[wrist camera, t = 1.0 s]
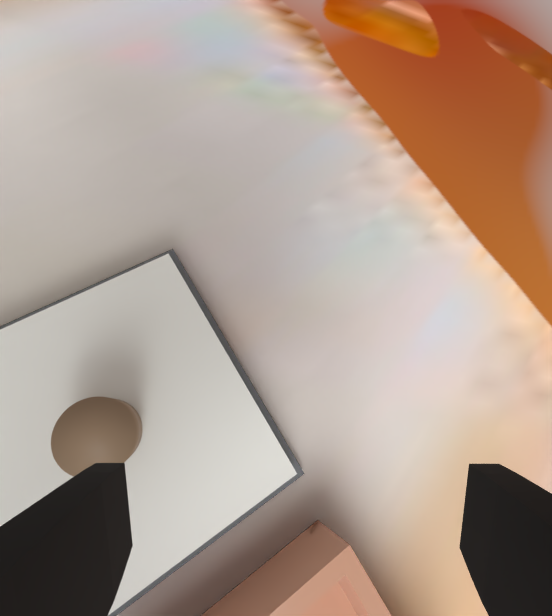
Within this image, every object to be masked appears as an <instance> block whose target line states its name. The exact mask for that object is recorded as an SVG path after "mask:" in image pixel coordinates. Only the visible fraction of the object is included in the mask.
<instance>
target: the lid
mask: <svg viewBox="0 0 552 616" xmlns="http://www.w3.org/2000/svg"><path fill="white" fill-rule="evenodd" d="M95 463H125V472H126V482H127V493H128V503H129V513H130V523H131V534H132V544H133V546H132V549H131V553H130V556H129V559H128V562H127V565H126V568H125V571H124V574H123V577H122V580H121V583H120V586H119V589H118V591H117V594H116V597H115V600H114V602H113V605H112V607H111V609H110V611H109V614H108V615H110V614H111V613H112V612H114V611H115V610H116V609H118V608H119V607H120V606H122V605H123V604H124V603H126V602H127V601H128V600H130V599H131V598H132V597H134V596H135V595H136V594H138V593H139V592H140V591H142V590H143V589H144V588H146V587H147V586H148V585H150V584H151V583H152V582H154V581H155V580H156V579H158V578H159V577H160V576H162V575H163V574H164V573H166V572H167V571H168V570H170V569H171V568H172V567H174V566H175V565H176V564H178V563H179V562H180V561H182V560H183V559H184V558H186V557H187V556H188V555H190V554H191V553H192V552H194V551H195V550H196V549H198V548H199V547H200V546H202V545H203V544H204V543H206V542H207V541H208V540H210V539H211V538H212V537H214V536H215V535H216V534H218V533H219V532H220V531H222V530H223V529H224V528H226V527H227V526H228V525H230V524H231V523H232V522H234V521H235V520H236V519H238V518H239V517H240V516H242V515H243V514H244V513H246V512H247V511H248V510H250V509H251V508H252V507H254V506H255V505H256V504H258V503H259V502H260V501H262V500H263V499H264V498H266V497H267V496H268V495H270V494H271V493H272V492H274V491H275V490H276V489H278V488H279V487H280V486H282V485H283V484H284V483H286V482H287V481H288V480H290V479H291V478H292V477H294V476H295V475H296V474H297V473H296V471H295V469H294V467H293V466H292V464H291V462H290V461H289V459H288V457H287V455H286V454H285V452H284V450H283V449H282V447H281V445H280V443H279V442H278V440H277V438H276V437H275V435H274V433H273V431H272V430H271V428H270V426H269V425H268V423H267V421H266V419H265V418H264V416H263V414H262V413H261V411H260V409H259V407H258V406H257V404H256V402H255V401H254V399H253V397H252V395H251V394H250V392H249V390H248V389H247V387H246V385H245V383H244V382H243V380H242V378H241V377H240V375H239V373H238V371H237V370H236V368H235V366H234V365H233V363H232V361H231V360H230V358H229V356H228V354H227V353H226V351H225V349H224V348H223V346H222V344H221V342H220V341H219V339H218V337H217V336H216V334H215V332H214V330H213V329H212V327H211V325H210V324H209V322H208V320H207V318H206V317H205V315H204V313H203V312H202V310H201V308H200V306H199V305H198V303H197V301H196V300H195V298H194V296H193V294H192V293H191V291H190V289H189V288H188V286H187V284H186V282H185V281H184V279H183V277H182V276H181V274H180V272H179V270H178V269H177V267H176V265H175V264H174V262H173V260H172V258H171V257H170V255H169V253H168V254H166V255H164V256H162V257H159V258H157V259H155V260H153V261H151V262H148V263H146V264H144V265H142V266H140V267H137V268H135V269H133V270H131V271H129V272H126V273H124V274H122V275H120V276H117V277H115V278H113V279H111V280H109V281H106V282H104V283H102V284H100V285H98V286H95V287H93V288H91V289H89V290H87V291H84V292H82V293H80V294H78V295H76V296H73V297H71V298H69V299H67V300H64V301H62V302H60V303H58V304H56V305H53V306H51V307H49V308H47V309H45V310H42V311H40V312H38V313H36V314H34V315H31V316H29V317H27V318H25V319H23V320H20V321H18V322H16V323H14V324H11V325H9V326H7V327H5V328H3V329H0V526H2V525H3V524H5V523H6V522H8V521H9V520H11V519H12V518H13V517H15V516H16V515H18V514H19V513H21V512H22V511H24V510H25V509H27V508H28V507H30V506H31V505H33V504H34V503H36V502H37V501H39V500H40V499H42V498H43V497H44V496H46V495H47V494H49V493H50V492H52V491H53V490H55V489H56V488H58V487H59V486H61V485H62V484H64V483H65V482H66V481H68V480H69V479H71V478H72V477H74V476H75V475H77V474H79V473H80V472H82V471H83V470H85V469H86V468H88V467H90V466H91V465H93V464H95Z"/></svg>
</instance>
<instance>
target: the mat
mask: <svg viewBox="0 0 552 616" xmlns="http://www.w3.org/2000/svg"><path fill="white" fill-rule="evenodd" d="M168 253H169V255H170V257H171V258H172V260H173V262H174V264H175V265H176V267H177V269H178V270H179V272H180V274H181V276H182V277H183V279H184V281H185V282H186V284H187V286H188V288H189V289H190V291H191V293H192V294H193V296H194V298H195V300H196V301H197V303H198V305H199V306H200V308H201V310H202V312H203V313H204V315H205V317H206V318H207V320H208V322H209V324H210V325H211V327H212V329H213V330H214V332H215V334H216V336H217V337H218V339H219V341H220V342H221V344H222V346H223V348H224V349H225V351H226V353H227V354H228V356H229V358H230V360H231V361H232V363H233V365H234V366H235V368H236V370H237V371H238V373H239V375H240V377H241V378H242V380H243V382H244V383H245V385H246V387H247V389H248V390H249V392H250V394H251V395H252V397H253V399H254V401H255V402H256V404H257V406H258V407H259V409H260V411H261V413H262V414H263V416H264V418H265V419H266V421H267V423H268V425H269V426H270V428H271V430H272V431H273V433H274V435H275V437H276V438H277V440H278V442H279V443H280V445H281V447H282V449H283V450H284V452H285V454H286V455H287V457H288V459H289V461H290V462H291V464H292V466H293V467H294V469H295V471H296V473H297V474H296V475H295V476H294V477H292V478H291V479H290V480H288V481H287V482H286V483H284V484H283V485H282V486H280V487H279V488H278V489H276V490H275V491H274V492H272V493H271V494H270V495H268V496H267V497H266V498H264V499H263V500H262V501H260V502H259V503H258V504H256V505H255V506H254V507H252V508H251V509H250V510H248V511H247V512H246V513H244V514H243V515H242V516H240V517H239V518H238V519H236V520H235V521H234V522H232V523H231V524H230V525H228V526H227V527H226V528H224V529H223V530H222V531H220V532H219V533H218V534H216V535H215V536H214V537H212V538H211V539H210V540H208V541H207V542H206V543H204V544H203V545H202V546H200V547H199V548H198V549H196V550H195V551H194V552H192V553H191V554H190V555H188V556H187V557H186V558H184V559H183V560H182V561H180V562H179V563H178V564H176V565H175V566H174V567H172V568H171V569H170V570H168V571H167V572H166V573H164V574H163V575H162V576H160V577H159V578H158V579H156V580H155V581H154V582H152V583H151V584H150V585H148V586H147V587H146V588H144V589H143V590H142V591H140V592H139V593H138V594H136V595H135V596H134V597H132V598H131V599H130V600H128V601H127V602H126V603H124V604H123V605H122V606H120V607H119V608H118V609H116V610H115V611H114V612H112V613H111V614H110V615H108V616H116V615H118V614H119V613H120V612H122V611H123V610H124V609H126V608H127V607H128V606H130V605H131V604H132V603H134V602H135V601H136V600H138V599H139V598H140V597H142V596H143V595H144V594H146V593H147V592H148V591H150V590H151V589H152V588H154V587H155V586H156V585H158V584H159V583H160V582H161V581H163V580H164V579H165V578H167V577H168V576H169V575H171V574H172V573H173V572H175V571H176V570H177V569H179V568H180V567H181V566H183V565H184V564H185V563H187V562H188V561H189V560H191V559H192V558H193V557H195V556H196V555H197V554H199V553H200V552H201V551H203V550H204V549H205V548H206V547H208V546H209V545H210V544H212V543H213V542H214V541H216V540H217V539H218V538H220V537H221V536H222V535H224V534H225V533H226V532H228V531H229V530H230V529H232V528H233V527H234V526H236V525H237V524H238V523H240V522H241V521H242V520H244V519H245V518H246V517H248V516H249V515H250V514H252V513H253V512H254V511H255V510H257V509H258V508H259V507H261V506H262V505H263V504H265V503H266V502H267V501H269V500H270V499H271V498H273V497H274V496H275V495H277V494H278V493H279V492H281V491H282V490H283V489H285V488H286V487H287V486H289V485H290V484H291V483H293V482H294V481H295V480H297V479H298V478H299V477H300V476H302V475H303V474H304V472H303V471H302V469H301V467H300V465H299V464H298V462H297V460H296V459H295V457H294V455H293V453H292V452H291V450H290V448H289V447H288V445H287V443H286V442H285V440H284V438H283V436H282V435H281V433H280V431H279V430H278V428H277V426H276V424H275V423H274V421H273V419H272V418H271V416H270V414H269V412H268V411H267V409H266V407H265V406H264V404H263V402H262V401H261V399H260V397H259V395H258V394H257V392H256V390H255V389H254V387H253V385H252V383H251V382H250V380H249V378H248V377H247V375H246V373H245V371H244V370H243V368H242V366H241V365H240V363H239V361H238V360H237V358H236V356H235V354H234V353H233V351H232V349H231V348H230V346H229V344H228V342H227V341H226V339H225V337H224V336H223V334H222V332H221V330H220V329H219V327H218V325H217V324H216V322H215V320H214V319H213V317H212V315H211V313H210V312H209V310H208V308H207V307H206V305H205V303H204V301H203V300H202V298H201V296H200V295H199V293H198V291H197V289H196V288H195V286H194V284H193V283H192V281H191V279H190V278H189V276H188V274H187V272H186V271H185V269H184V267H183V266H182V264H181V262H180V260H179V259H178V257H177V255H176V254H175V252H174V250H173V249H172V250H169V251H167V252H165V253H163V254H160V255H158V256H156V257H154V258H152V259H149V260H147V261H145V262H143V263H140V264H138V265H136V266H134V267H132V268H129V269H127V270H125V271H123V272H120V273H118V274H116V275H114V276H112V277H109V278H107V279H105V280H103V281H100V282H98V283H96V284H94V285H92V286H89V287H87V288H85V289H83V290H80V291H78V292H76V293H74V294H72V295H69V296H67V297H65V298H63V299H61V300H58V301H56V302H54V303H52V304H49V305H47V306H45V307H43V308H41V309H38V310H36V311H34V312H32V313H29V314H27V315H25V316H23V317H21V318H18V319H16V320H14V321H12V322H9V323H7V324H5V325H3V326H1V327H0V329H3V328H5V327H7V326H9V325H11V324H14V323H16V322H18V321H20V320H23V319H25V318H27V317H29V316H31V315H34V314H36V313H38V312H40V311H42V310H45V309H47V308H49V307H51V306H53V305H56V304H58V303H60V302H62V301H64V300H67V299H69V298H71V297H73V296H76V295H78V294H80V293H82V292H84V291H87V290H89V289H91V288H93V287H95V286H98V285H100V284H102V283H104V282H106V281H109V280H111V279H113V278H115V277H117V276H120V275H122V274H124V273H126V272H129V271H131V270H133V269H135V268H137V267H140V266H142V265H144V264H146V263H148V262H151V261H153V260H155V259H157V258H159V257H162V256H164V255H166V254H168Z"/></svg>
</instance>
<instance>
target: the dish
mask: <svg viewBox="0 0 552 616" xmlns="http://www.w3.org/2000/svg"><path fill="white" fill-rule="evenodd" d="M201 616H391V614H390V612H389V611H388V609H387V607H386V606H385V604H384V602H383V600H382V599H381V597H380V595H379V594H378V592H377V590H376V588H375V587H374V585H373V583H372V582H371V580H370V578H369V577H368V575H367V573H366V571H365V570H364V568H363V566H362V565H361V563H360V561H359V559H358V558H357V556H356V554H355V553H354V551H353V549H352V548H351V546H350V544H348V543H347V542H346V541H344V540H343V539H342V538H341V537H339V536H338V535H337V534H335V533H334V532H333V531H332V530H330V529H329V528H328V527H326V526H325V525H324V524H323V523H321V522H320V521H319V520H317V521H316V522H315V523H314V524H312V525H311V526H310V527H309V528H308V529H306V530H305V531H304V532H303V533H301V534H300V535H299V536H298V537H297V538H295V539H294V540H293V541H292V542H290V543H289V544H288V545H287V546H286V547H284V548H283V549H282V550H281V551H279V552H278V553H277V554H276V555H275V556H273V557H272V558H271V559H270V560H268V561H267V562H266V563H265V564H264V565H262V566H261V567H260V568H259V569H257V570H256V571H255V572H254V573H253V574H251V575H250V576H249V577H248V578H246V579H245V580H244V581H243V582H241V583H240V584H239V585H238V586H237V587H235V588H234V589H233V590H232V591H230V592H229V593H228V594H227V595H226V596H224V597H223V598H222V599H221V600H219V601H218V602H217V603H216V604H215V605H213V606H212V607H211V608H210V609H208V610H207V611H206V612H205V613H204V614H202V615H201Z"/></svg>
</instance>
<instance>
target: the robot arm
mask: <svg viewBox="0 0 552 616" xmlns="http://www.w3.org/2000/svg"><path fill="white" fill-rule="evenodd" d="M132 546H133V544H132V534H131V523H130V513H129V503H128V493H127V482H126V472H125V463H95V464H93V465H91V466H90V467H88V468H86V469H85V470H83V471H82V472H80V473H79V474H77V475H75V476H74V477H72V478H71V479H69V480H68V481H66V482H65V483H64V484H62V485H61V486H59V487H58V488H56V489H55V490H53V491H52V492H50V493H49V494H47V495H46V496H44V497H43V498H42V499H40V500H39V501H37V502H36V503H34V504H33V505H31V506H30V507H28V508H27V509H25V510H24V511H22V512H21V513H19V514H18V515H16V516H15V517H13V518H12V519H11V520H9V521H8V522H6V523H5V524H3V525H2V526H0V616H108V614H109V611H110V609H111V607H112V605H113V602H114V600H115V597H116V594H117V591H118V589H119V586H120V583H121V580H122V577H123V574H124V571H125V568H126V565H127V562H128V559H129V556H130V553H131V549H132ZM460 550H461V552H462V555H463V557H464V560H465V562H466V565H467V567H468V570H469V573H470V575H471V578H472V580H473V582H474V585H475V587H476V589H477V592H478V594H479V596H480V599H481V601H482V603H483V605H484V607H485V609H486V611H487V613H488V615H489V616H552V494H551V493H549V492H548V491H546V490H544V489H543V488H541V487H539V486H538V485H536V484H534V483H533V482H531V481H529V480H527V479H526V478H524V477H522V476H521V475H519V474H517V473H515V472H513V471H512V470H510V469H508V468H506V467H504V466H502V465H500V464H469V470H468V479H467V487H466V496H465V505H464V514H463V522H462V531H461V540H460Z"/></svg>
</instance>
